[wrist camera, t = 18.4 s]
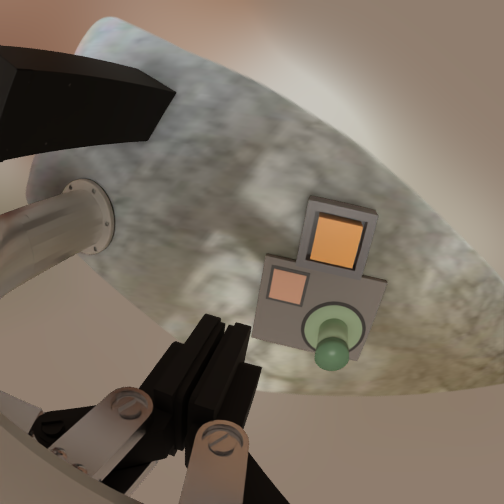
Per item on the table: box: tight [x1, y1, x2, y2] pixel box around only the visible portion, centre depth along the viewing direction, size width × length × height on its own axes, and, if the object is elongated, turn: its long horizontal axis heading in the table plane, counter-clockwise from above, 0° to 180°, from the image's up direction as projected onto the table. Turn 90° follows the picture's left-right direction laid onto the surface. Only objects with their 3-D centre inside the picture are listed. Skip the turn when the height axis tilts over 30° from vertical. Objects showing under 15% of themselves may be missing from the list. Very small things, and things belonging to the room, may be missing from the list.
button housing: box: [295, 195, 378, 281], centre depth 36 cm, size 8×8×3 cm
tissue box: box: [0, 45, 176, 162], centre depth 24 cm, size 8×8×28 cm
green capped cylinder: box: [315, 318, 349, 371], centre depth 38 cm, size 4×4×6 cm
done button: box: [310, 212, 363, 268], centre depth 35 cm, size 5×5×2 cm
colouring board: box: [251, 254, 387, 361], centre depth 41 cm, size 16×13×1 cm
